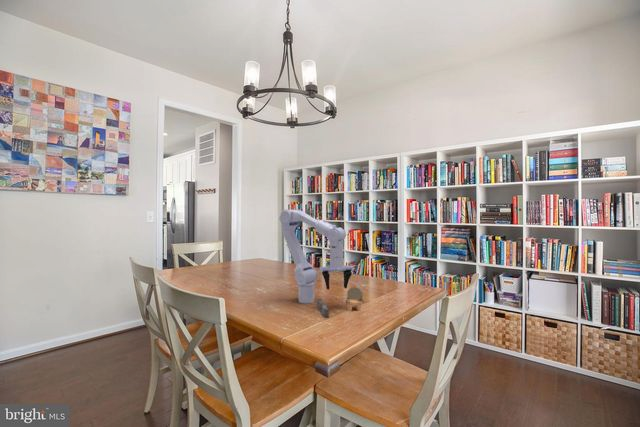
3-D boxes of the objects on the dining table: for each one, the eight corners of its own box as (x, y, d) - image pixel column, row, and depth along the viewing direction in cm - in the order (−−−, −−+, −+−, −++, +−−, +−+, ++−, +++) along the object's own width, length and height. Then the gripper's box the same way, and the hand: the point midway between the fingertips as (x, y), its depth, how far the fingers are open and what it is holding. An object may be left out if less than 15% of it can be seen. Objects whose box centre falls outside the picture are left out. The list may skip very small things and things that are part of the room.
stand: (308, 308, 126) (308, 298, 126) (326, 307, 127) (326, 296, 127) (317, 324, 108) (317, 312, 108) (338, 322, 110) (338, 310, 110)
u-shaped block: (346, 310, 122) (346, 300, 122) (357, 309, 123) (357, 299, 123) (349, 313, 118) (349, 303, 118) (360, 312, 119) (360, 302, 119)
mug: (365, 297, 142) (367, 282, 137) (358, 311, 134) (360, 296, 129) (351, 292, 145) (352, 277, 140) (343, 305, 137) (345, 290, 132)
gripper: (322, 258, 117) (322, 292, 118) (356, 257, 121) (356, 289, 121) (318, 255, 124) (318, 287, 124) (350, 254, 127) (350, 285, 128)
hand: (336, 288), depth 123 cm, fingers open, 7 cm apart
